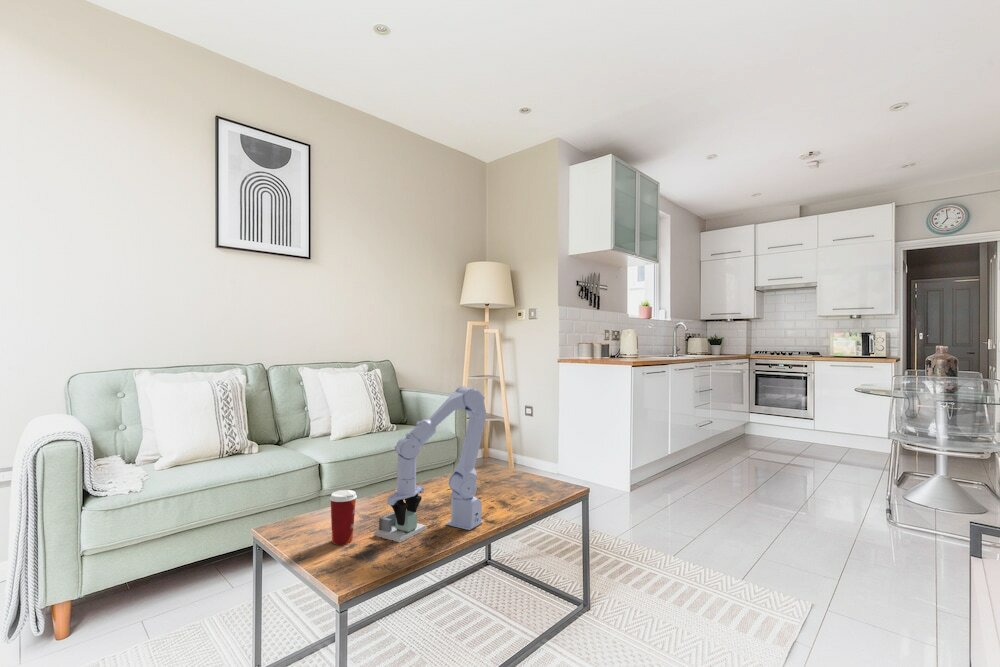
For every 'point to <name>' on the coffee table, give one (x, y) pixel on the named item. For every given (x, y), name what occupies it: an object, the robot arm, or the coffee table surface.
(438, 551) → the coffee table surface
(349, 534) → the paper cup
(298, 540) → the coffee table surface
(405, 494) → the robot arm
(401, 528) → the pale green block
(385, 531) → the dock
